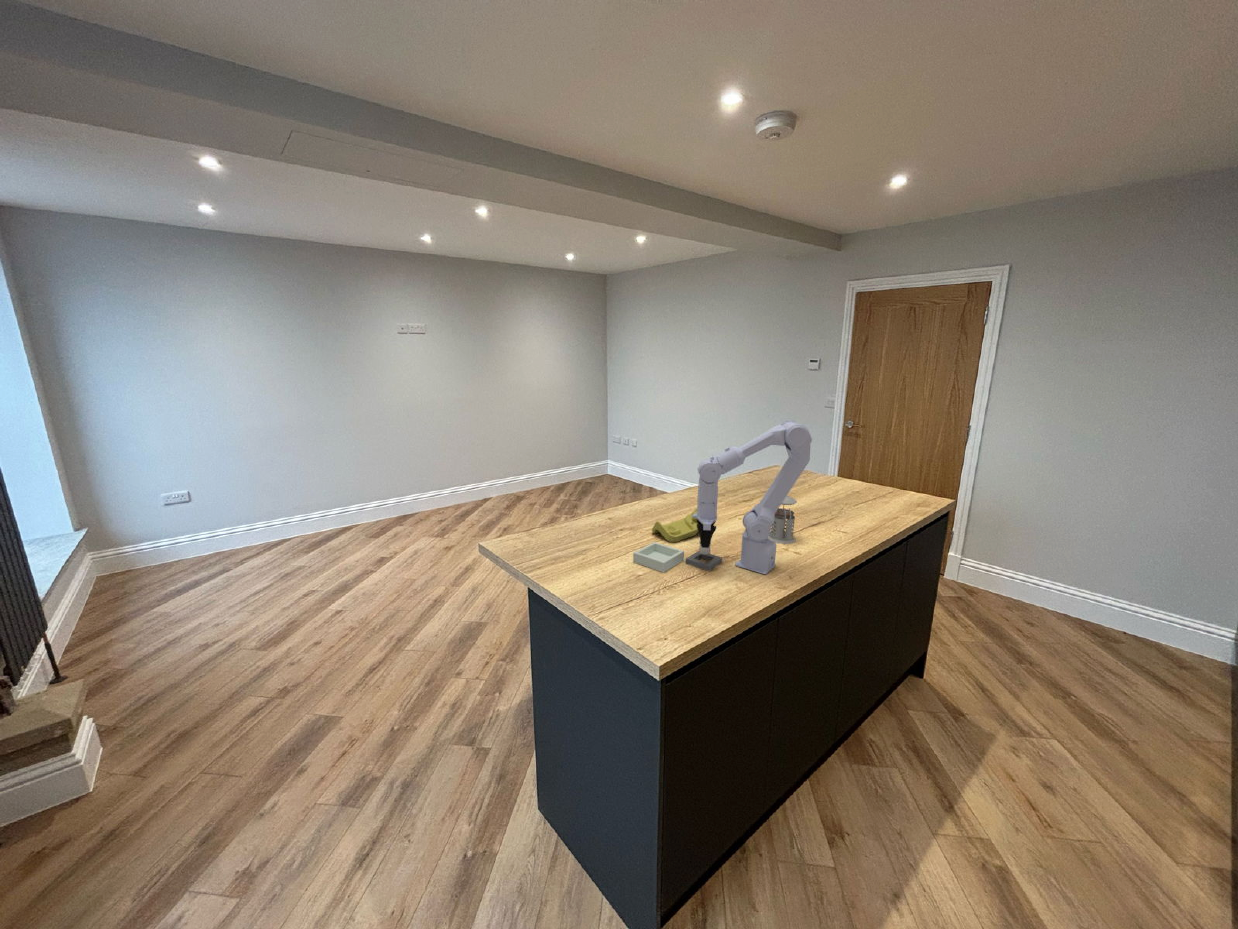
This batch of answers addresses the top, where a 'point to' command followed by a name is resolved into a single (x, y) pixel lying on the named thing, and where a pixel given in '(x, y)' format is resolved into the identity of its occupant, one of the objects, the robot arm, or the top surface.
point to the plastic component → (678, 528)
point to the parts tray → (658, 556)
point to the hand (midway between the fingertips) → (705, 544)
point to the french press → (783, 524)
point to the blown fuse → (704, 549)
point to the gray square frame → (708, 566)
